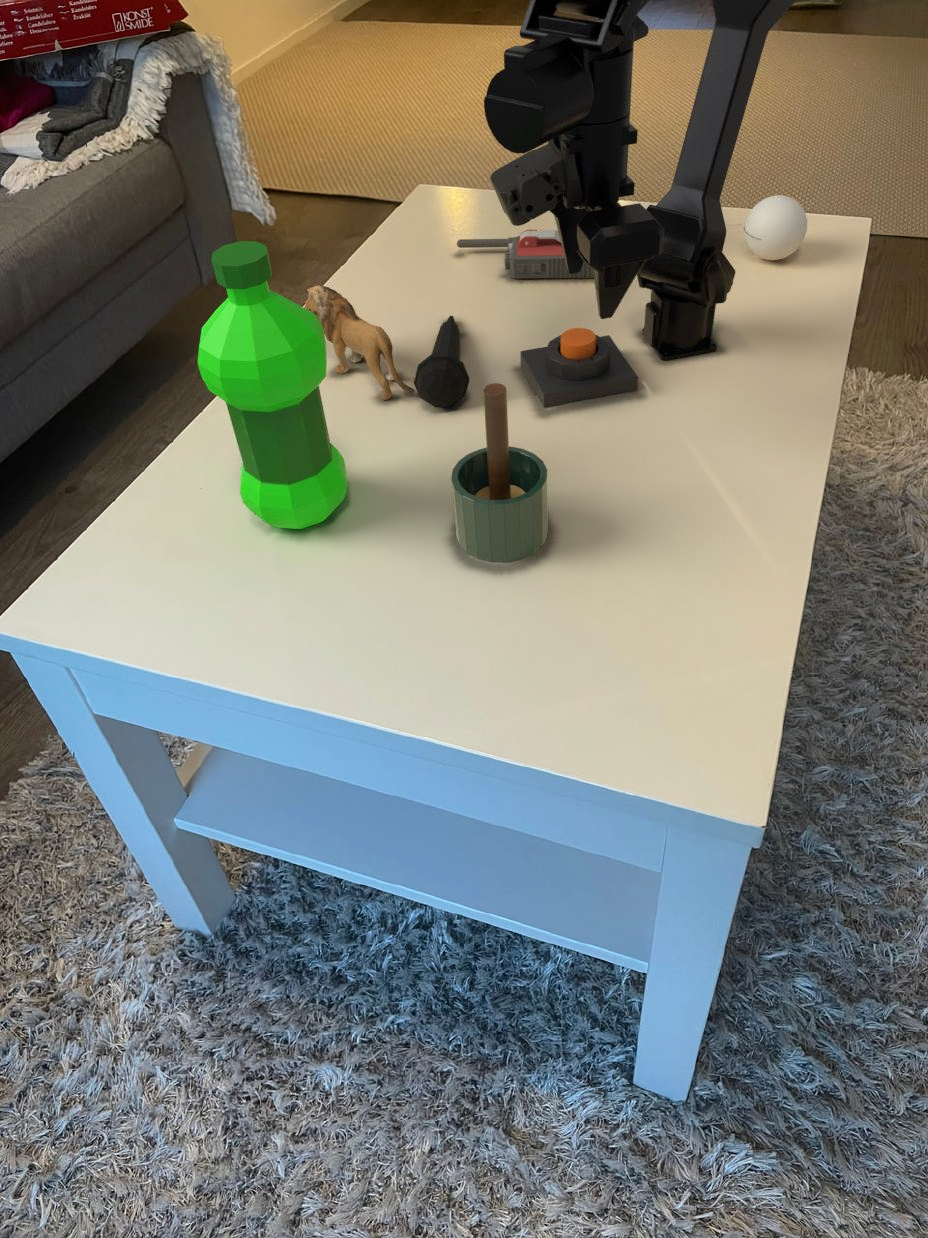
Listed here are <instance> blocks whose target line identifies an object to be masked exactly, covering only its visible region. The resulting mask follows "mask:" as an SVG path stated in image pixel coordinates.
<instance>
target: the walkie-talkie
mask: <svg viewBox="0 0 928 1238" xmlns="http://www.w3.org/2000/svg"><path fill="white" fill-rule="evenodd" d="M456 246H457V247H458V248H459V249H466V248H467V249H471V248H472V249H474V248H478V249H479V248H480V249H481V248H508V251H506V252H505V253H504V269H505V270H506V271H508V270H510V277H511V278H513V279H520V280H521V279H594V272H593V268H591V267H589V266H588V265H587V264H586V263H585V261H584V262H583V265H582V268H581V271H580V272H579V273H575V274H570V273H569V272H568V269H567V265H566V261H565V257H564V253H563V249H562V245H561V240H560V236H559V232H558V229H555V228H554V229H553V228H552V229H539V230H538V229H526V230H523V231H518V233H517V236H514V237H508V238H465V239H462V238H461V239H458V240H457V241H456Z"/></svg>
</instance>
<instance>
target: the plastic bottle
mask: <svg viewBox="0 0 928 1238" xmlns="http://www.w3.org/2000/svg"><path fill="white" fill-rule="evenodd" d="M211 264H212V268H213V272H214V276H215V280H216V284H218V285H219V286H221V287H223V288H224V289H226V293H227V298H226V299H225V300H224V301H223V302H222V303H221V304H220V305H219V306H218V307H217V308H216V310H214V312H213V313H212V315H210V317H209V318H208V320H207V321H206V322H205V323H204V325H203V326H202V327H201V332H200V339H199V345H198V353H197V366H198V370H199V373H200V376H201V378H202V380H203V383H204V384H205V386H206V387H207V389H208V391H209V392H211V393H212V394H213V395H215V396H216V397H218V398H219V399H221V400H222V401H224V403H225V405H226V408H227V411H228V416H229V418H230V422H231V426H232V429H233V433H234V436H235V440H236V444H237V447H238V450H239V455H240V457H241V462H242V465H241V472H240V485H239V486H240V487H239V494H240V497H241V500H242V501H241V502H242V503H243V504H244V505H245V506H246V507H247V509H248V510H249V511H250V512H251V513H252V514H254V515H255V516H257V518H259V519H260V520H262V521H263V522H264V523H266V525H269V526H271V527H272V528H279V529H288V530H289V529H290V530H303V529H306V528H310V527H312V526H315V525H318V524H321V523H322V522H324V521H326V520H327V518H329V516H331V514H332V513H334V512H335V510H336V509H337V508H338V507H339V506H340V505H341V504H342V503H343V501H344V500H345V498H346V494H347V491H348V485H347V484H348V483H347V481H348V480H347V468H346V464H345V459H344V457H343V455H342V453H340V451H339V450H338V448H336V447H335V445H333V443H331V439H330V434H329V430H328V425H327V420H326V415H325V409H324V405H323V400H322V396H321V389H320V385H321V383H322V382H324V380H325V379H326V377H327V341H326V337H325V334H324V330H323V327H322V325H321V323H320V322H319V320H318V319H317V317H316V316H315V314H313V313H311V312H310V311H308V310H306V309H304V306H301V305H299V304H298V303H296V302H294V301H292V300H290V299H288V298H286V297H285V296H283V295H281V294H280V293H277V292H275V291H273V290H270V287H269V283H268V280H269V279H271V278H272V273H273V270H272V263H271V258H270V254H269V249H268V246H267V245H265V244H263V243H262V242H261V243H260V242H259V241H258V240H257V241H256V240H251V241H250V240H249V241H248V240H239V241H235V242H232V243H228V244H224V245H222V246H220V247H219V248H218V249H216V250H214V251H213V252H212V253H211Z"/></svg>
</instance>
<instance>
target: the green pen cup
mask: <svg viewBox="0 0 928 1238" xmlns="http://www.w3.org/2000/svg"><path fill="white" fill-rule="evenodd" d="M509 465H510V485H514V486H517V487H519V488H521V489H522V490H523V491H524V492H525V494H522V495H520V496H518V497H515V498H510V499H505V500H488V499H483V498H478V497H476V496H475V495H476V493H477V492H478V491H480V490H481V489H483V488H485V487H487V486H489V477H488V460H487V447H483V448H479V449H477V450H474V451H472V452H470V453H468V454H466V455H464V456H463V457H462V458H460V459H459V460H458V461H457V462H456V464H455V465H454V466H453V469H452V471H451V477H450V481H451V482H450V483H451V493H452V503H453V504H452V505H453V513H454V514H453V515H454V524H455V525H454V526H455V534H456V535H455V536H456V540H457V542H458V544H459V547H460V548H461V549H462V550H463V551H464V552H465V553H466V554H467V555H469V556H471V557H473V558H475V559H477V560H480V561H483V562H489V563H492V564H493V563H497V564H498V563H499V564H500V563H502V564H503V563H505V564H506V563H513V562H517V561H521V560H524V559H526V558H528V557H531V556H533V555H534V554H535V553H536V552H538V551H539V550H540V549H541V548H542V547H543V546H544V544H545V542H546V540H547V538H548V533H549V532H548V530H549V528H548V527H549V522H548V521H549V519H548V518H549V517H548V515H549V514H548V513H549V511H548V509H549V508H548V468H547V467H546V465H545V462H544V461H543V460H542V458H540V457H539V456H537V454H535V453H533V452H531V451H529V450H527V449H525V448H522V447H516V446H510V445H509Z"/></svg>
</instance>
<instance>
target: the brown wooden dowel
mask: <svg viewBox="0 0 928 1238" xmlns="http://www.w3.org/2000/svg"><path fill="white" fill-rule="evenodd" d="M482 393H483V407H484V409H483V410H484V424H485V441H486V448H487V460H488V477H489V486H487V487H485V488H483V489H481V490H480V491H478V492H477V493H476V495H475V496H476V497H478V498H483V499H488V500H505V499H510V498H515V497H518V496H520V495H522V494H525V492H524V491H523V490H522V489H521V488H519V487H517V486H514V485H510V465H509V446H510V444H509V442H510V441H509V419H508V417H509V415H508V393H507V387H506V386H505V385H504V384H502V383H498V382H497V383H496V382H495V383H494V382H492V383H489V384H487V385H485V386H484V387H483V389H482Z"/></svg>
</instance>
